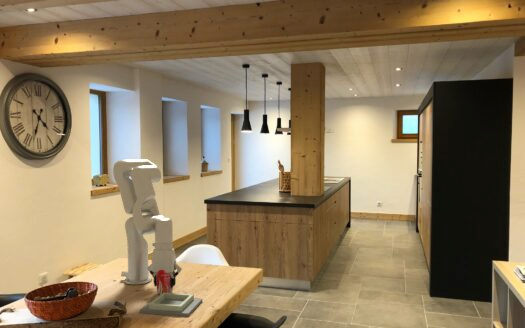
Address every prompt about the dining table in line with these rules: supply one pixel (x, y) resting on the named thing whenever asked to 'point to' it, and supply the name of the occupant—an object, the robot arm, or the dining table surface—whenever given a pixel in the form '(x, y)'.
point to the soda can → (163, 282)
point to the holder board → (172, 304)
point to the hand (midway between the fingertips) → (164, 285)
